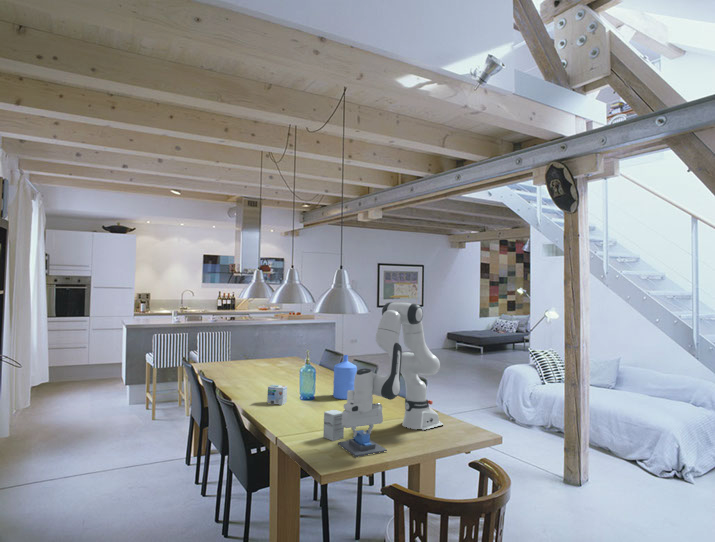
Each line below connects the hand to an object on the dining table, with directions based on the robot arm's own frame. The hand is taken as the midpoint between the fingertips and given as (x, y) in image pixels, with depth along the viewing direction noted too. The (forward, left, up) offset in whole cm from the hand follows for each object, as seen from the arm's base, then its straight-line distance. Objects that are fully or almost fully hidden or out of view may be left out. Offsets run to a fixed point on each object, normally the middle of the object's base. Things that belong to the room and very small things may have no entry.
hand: (362, 435), depth 207 cm
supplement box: (+6, -18, -6) cm, 20 cm away
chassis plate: (0, 0, -6) cm, 6 cm away
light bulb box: (+11, -91, -6) cm, 92 cm away
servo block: (0, 0, -5) cm, 5 cm away
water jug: (-36, -90, -6) cm, 97 cm away
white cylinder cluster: (-23, -48, -6) cm, 54 cm away
